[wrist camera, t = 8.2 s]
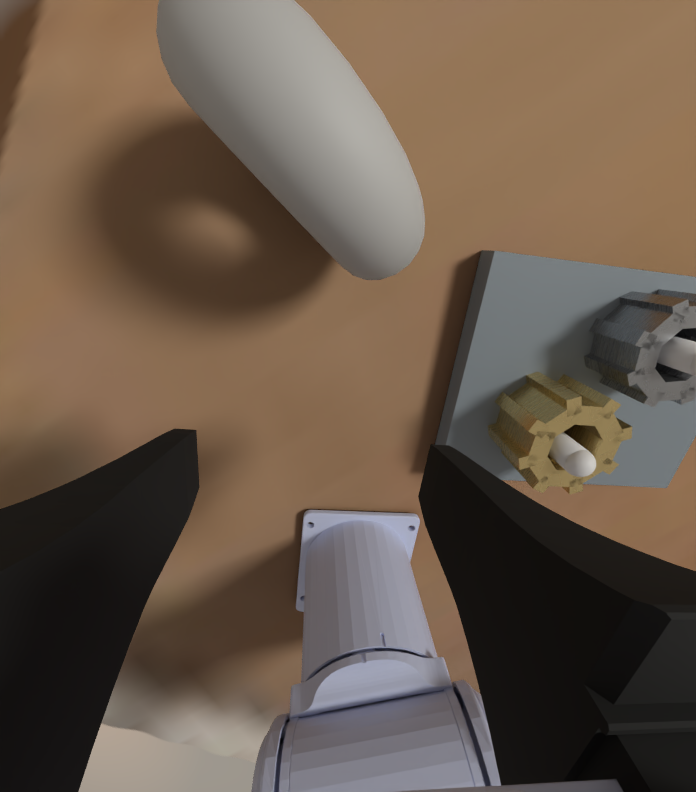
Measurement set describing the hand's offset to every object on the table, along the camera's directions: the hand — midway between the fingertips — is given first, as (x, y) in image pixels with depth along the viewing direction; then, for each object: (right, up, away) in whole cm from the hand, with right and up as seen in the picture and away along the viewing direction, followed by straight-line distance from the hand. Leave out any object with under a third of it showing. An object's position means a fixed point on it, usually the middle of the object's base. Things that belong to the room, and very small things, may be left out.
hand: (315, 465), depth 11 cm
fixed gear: (+17, +5, +8) cm, 19 cm away
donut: (-1, +12, +6) cm, 14 cm away
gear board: (+15, +3, +11) cm, 19 cm away
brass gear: (+12, +1, +10) cm, 16 cm away
